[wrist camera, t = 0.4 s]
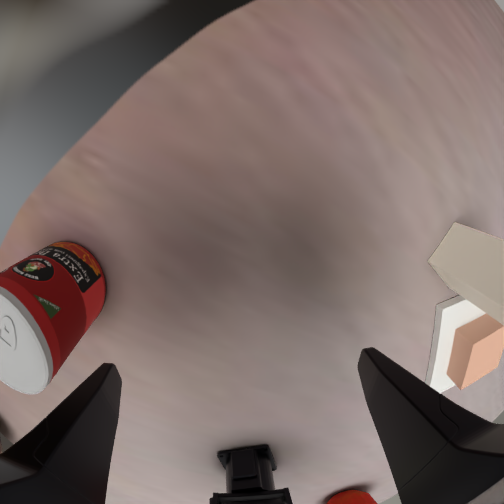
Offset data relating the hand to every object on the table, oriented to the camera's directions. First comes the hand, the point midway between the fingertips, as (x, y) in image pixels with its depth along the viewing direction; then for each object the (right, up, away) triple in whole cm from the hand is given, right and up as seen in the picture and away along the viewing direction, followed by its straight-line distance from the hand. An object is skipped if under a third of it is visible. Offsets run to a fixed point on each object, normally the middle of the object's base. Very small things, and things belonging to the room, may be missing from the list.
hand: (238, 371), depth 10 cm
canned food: (-16, +1, +13) cm, 20 cm away
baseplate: (+26, -7, +19) cm, 33 cm away
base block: (+27, -7, +18) cm, 33 cm away
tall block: (+21, +4, +15) cm, 26 cm away
